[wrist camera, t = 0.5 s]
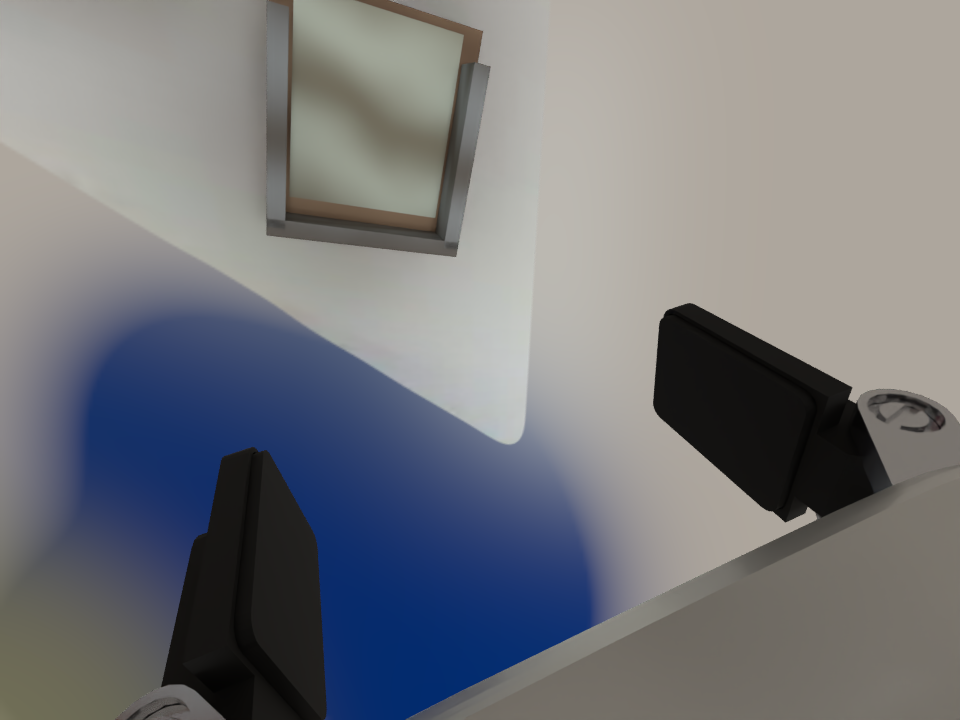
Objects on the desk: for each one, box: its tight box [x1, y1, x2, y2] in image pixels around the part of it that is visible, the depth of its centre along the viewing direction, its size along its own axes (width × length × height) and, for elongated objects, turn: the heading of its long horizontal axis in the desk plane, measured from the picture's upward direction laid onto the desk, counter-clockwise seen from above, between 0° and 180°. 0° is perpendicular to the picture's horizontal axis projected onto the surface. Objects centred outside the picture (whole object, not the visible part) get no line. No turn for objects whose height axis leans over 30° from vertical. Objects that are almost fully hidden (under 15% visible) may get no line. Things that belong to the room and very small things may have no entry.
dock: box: [267, 0, 490, 257], centre depth 29 cm, size 14×12×6 cm
